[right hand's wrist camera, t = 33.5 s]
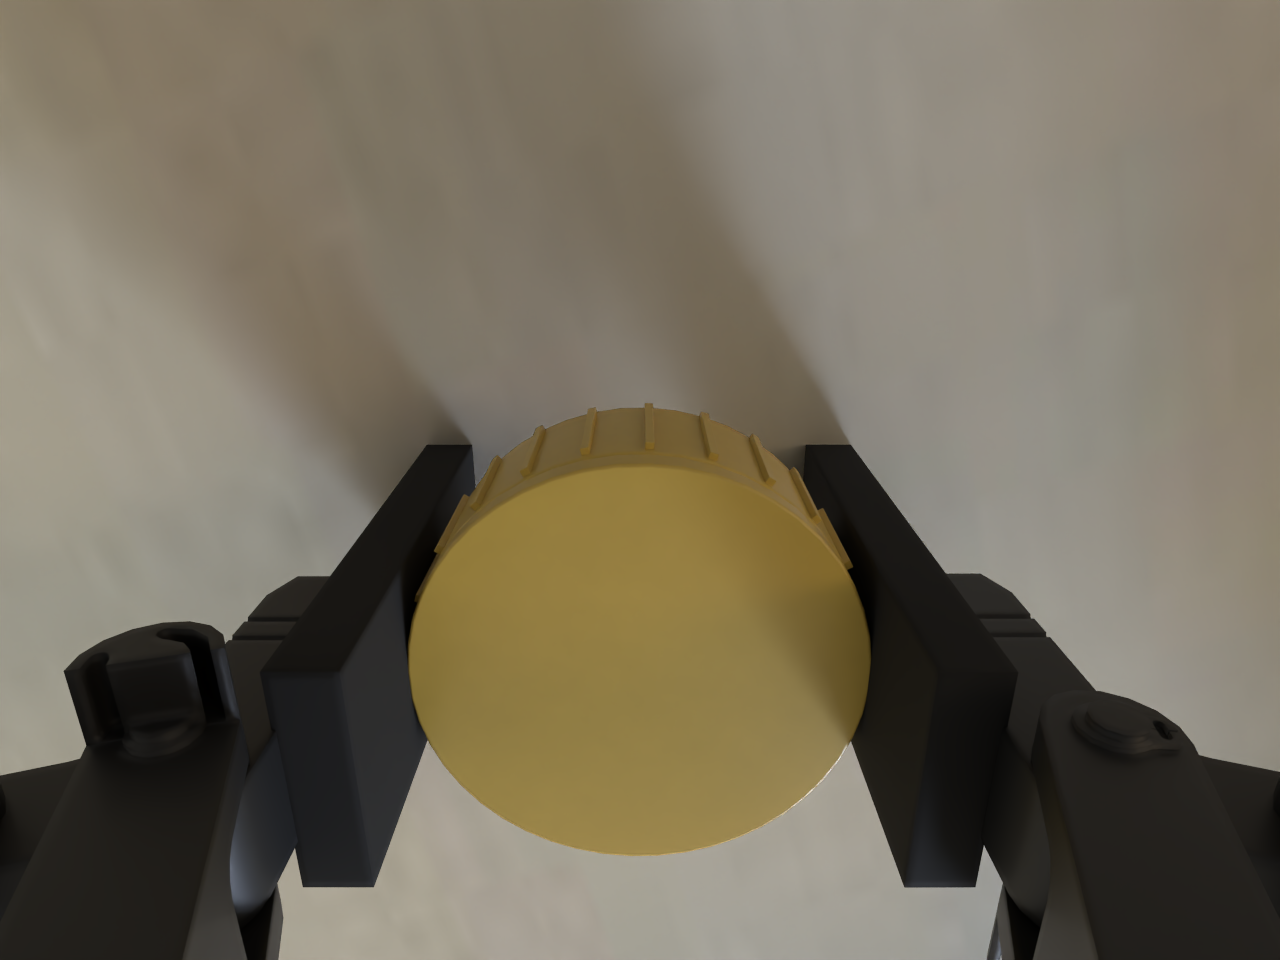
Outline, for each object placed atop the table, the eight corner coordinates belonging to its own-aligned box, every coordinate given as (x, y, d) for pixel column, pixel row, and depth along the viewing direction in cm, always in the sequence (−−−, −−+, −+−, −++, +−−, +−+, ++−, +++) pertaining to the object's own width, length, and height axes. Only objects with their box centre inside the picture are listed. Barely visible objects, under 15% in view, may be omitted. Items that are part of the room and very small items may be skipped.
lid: (837, 736, 13) (874, 845, 11) (477, 761, 13) (446, 874, 11) (836, 383, 11) (882, 436, 9) (408, 420, 11) (354, 480, 9)
